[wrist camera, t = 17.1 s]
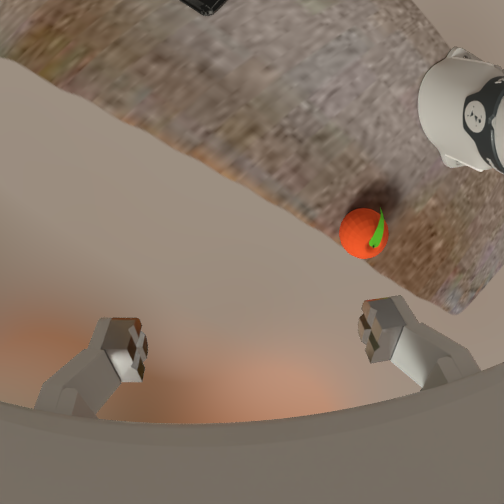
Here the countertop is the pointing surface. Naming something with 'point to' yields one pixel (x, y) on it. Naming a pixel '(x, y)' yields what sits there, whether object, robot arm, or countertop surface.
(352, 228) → the clementine
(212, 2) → the phone
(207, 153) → the countertop surface
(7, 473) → the robot arm
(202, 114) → the countertop surface
